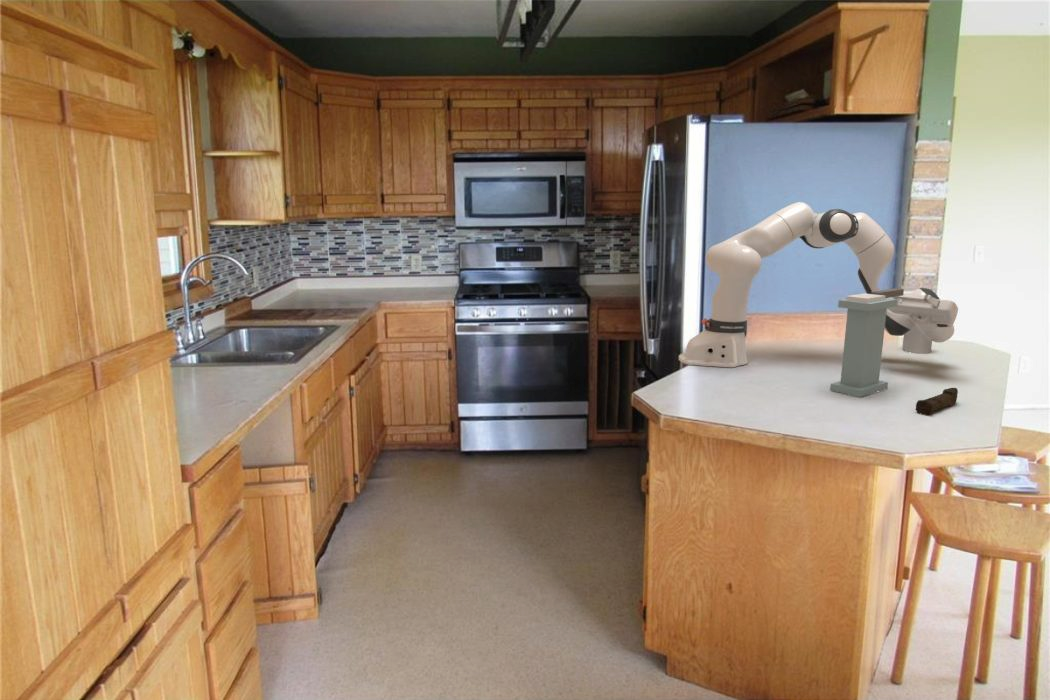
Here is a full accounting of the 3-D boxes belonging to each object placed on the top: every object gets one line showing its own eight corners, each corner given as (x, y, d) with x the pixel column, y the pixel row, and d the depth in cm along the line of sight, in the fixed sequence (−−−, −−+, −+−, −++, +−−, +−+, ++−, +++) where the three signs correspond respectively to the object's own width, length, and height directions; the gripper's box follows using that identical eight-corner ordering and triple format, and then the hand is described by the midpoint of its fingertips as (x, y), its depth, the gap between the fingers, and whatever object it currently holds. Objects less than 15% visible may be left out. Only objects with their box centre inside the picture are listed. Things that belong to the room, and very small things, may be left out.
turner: (866, 302, 197) (867, 296, 196) (845, 300, 201) (846, 293, 201) (908, 296, 211) (909, 289, 211) (888, 293, 216) (888, 287, 215)
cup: (904, 352, 259) (908, 319, 256) (899, 347, 267) (903, 315, 265) (933, 354, 256) (937, 320, 253) (927, 349, 264) (931, 316, 262)
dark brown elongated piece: (930, 417, 184) (932, 399, 183) (914, 413, 187) (916, 395, 186) (966, 405, 194) (968, 389, 193) (950, 402, 197) (953, 385, 196)
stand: (860, 397, 200) (870, 303, 195) (830, 390, 207) (838, 300, 202) (887, 389, 209) (897, 299, 204) (857, 382, 216) (866, 295, 211)
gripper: (895, 301, 235) (879, 283, 226) (964, 308, 219) (949, 289, 211) (889, 319, 234) (872, 301, 226) (957, 327, 219) (942, 308, 210)
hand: (910, 295), depth 218 cm, fingers open, 8 cm apart
